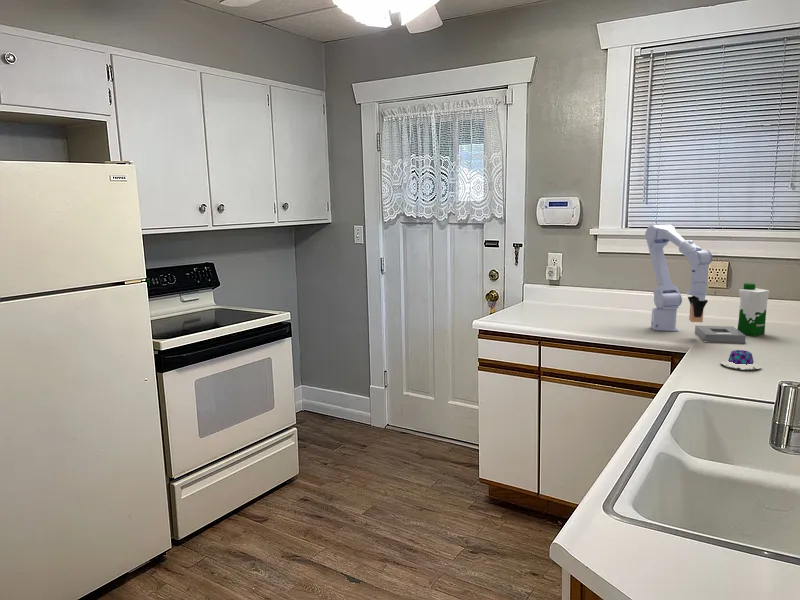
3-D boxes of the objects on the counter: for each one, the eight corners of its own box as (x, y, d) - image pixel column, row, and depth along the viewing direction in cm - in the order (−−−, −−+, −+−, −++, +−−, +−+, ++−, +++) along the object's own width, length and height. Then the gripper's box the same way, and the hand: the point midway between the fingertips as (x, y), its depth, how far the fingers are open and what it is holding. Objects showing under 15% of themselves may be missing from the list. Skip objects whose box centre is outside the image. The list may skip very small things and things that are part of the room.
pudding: (713, 366, 201) (714, 351, 200) (729, 360, 208) (730, 345, 207) (751, 374, 192) (753, 358, 191) (767, 367, 199) (769, 352, 198)
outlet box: (704, 342, 232) (705, 333, 232) (694, 332, 248) (695, 324, 247) (745, 343, 229) (745, 335, 228) (732, 333, 244) (733, 326, 244)
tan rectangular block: (691, 322, 236) (692, 304, 235) (689, 319, 240) (690, 302, 239) (702, 322, 235) (703, 304, 234) (700, 320, 239) (701, 302, 238)
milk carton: (746, 330, 250) (750, 282, 246) (768, 334, 242) (773, 285, 238) (733, 333, 246) (737, 284, 242) (754, 337, 238) (759, 287, 234)
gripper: (683, 278, 243) (681, 312, 245) (691, 284, 229) (689, 319, 231) (702, 279, 241) (700, 312, 243) (712, 284, 227) (709, 319, 230)
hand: (696, 315), depth 237 cm, fingers closed on tan rectangular block, 4 cm apart
